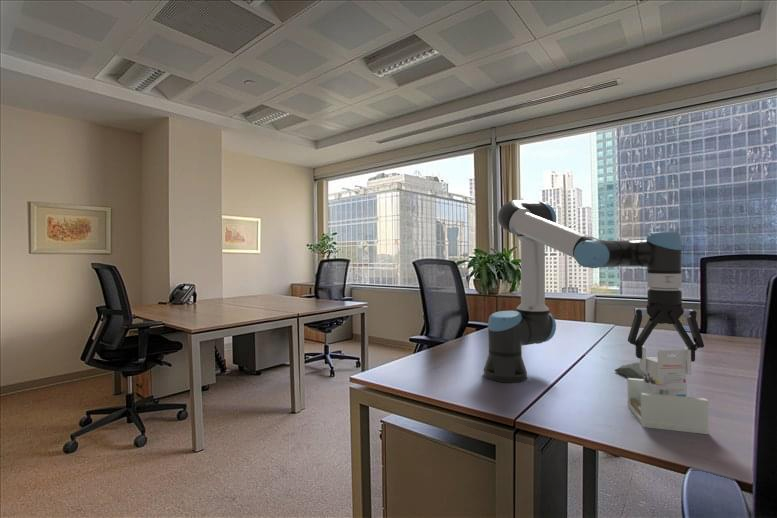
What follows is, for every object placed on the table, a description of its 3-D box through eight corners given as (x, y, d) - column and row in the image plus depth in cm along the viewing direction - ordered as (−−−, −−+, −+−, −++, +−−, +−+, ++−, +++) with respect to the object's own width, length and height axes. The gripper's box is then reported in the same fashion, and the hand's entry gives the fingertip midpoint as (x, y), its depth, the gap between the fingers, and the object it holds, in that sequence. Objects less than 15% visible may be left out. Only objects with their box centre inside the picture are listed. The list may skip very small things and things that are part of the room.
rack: (643, 427, 99) (643, 395, 99) (627, 404, 113) (627, 377, 113) (709, 434, 95) (709, 401, 94) (683, 410, 109) (683, 381, 109)
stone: (609, 363, 146) (643, 357, 148) (611, 376, 145) (646, 370, 148) (648, 373, 128) (687, 366, 130) (651, 388, 127) (690, 380, 130)
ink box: (670, 397, 107) (672, 345, 106) (686, 405, 102) (687, 350, 101) (642, 398, 106) (643, 345, 106) (656, 406, 101) (658, 350, 101)
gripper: (621, 289, 103) (621, 372, 104) (721, 291, 96) (721, 379, 97) (614, 287, 110) (614, 364, 111) (707, 288, 103) (707, 370, 104)
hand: (664, 371), depth 104 cm, fingers closed on ink box, 9 cm apart
